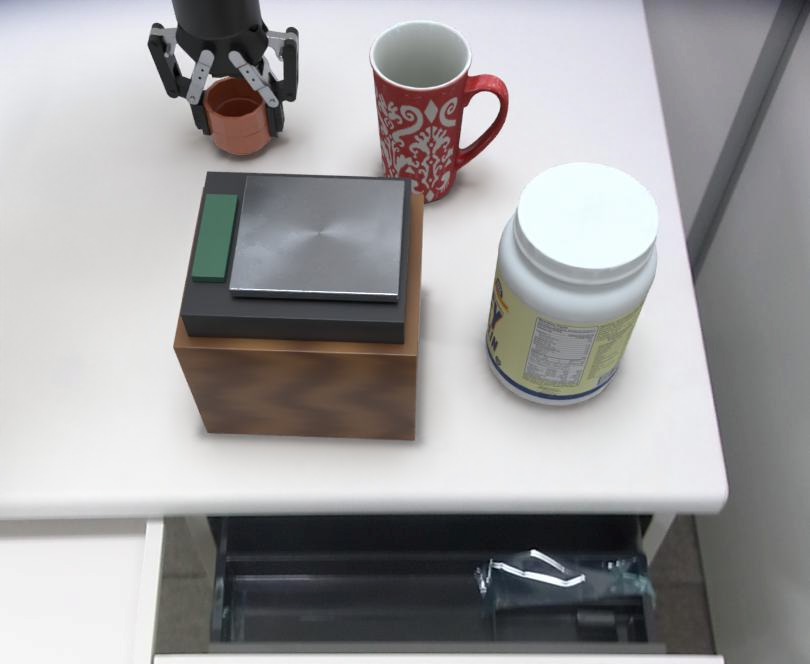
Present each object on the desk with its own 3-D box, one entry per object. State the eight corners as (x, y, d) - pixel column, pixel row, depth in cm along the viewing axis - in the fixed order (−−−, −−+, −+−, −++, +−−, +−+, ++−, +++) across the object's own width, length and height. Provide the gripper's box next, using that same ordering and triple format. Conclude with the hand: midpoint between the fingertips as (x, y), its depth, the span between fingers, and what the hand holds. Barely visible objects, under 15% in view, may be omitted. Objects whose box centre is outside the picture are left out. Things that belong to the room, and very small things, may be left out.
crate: (207, 433, 72) (172, 347, 61) (230, 287, 79) (202, 186, 68) (414, 440, 72) (417, 356, 61) (421, 294, 79) (424, 193, 68)
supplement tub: (493, 292, 79) (515, 141, 63) (623, 312, 78) (677, 163, 62) (474, 400, 74) (493, 264, 58) (612, 422, 73) (668, 290, 58)
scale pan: (230, 296, 60) (228, 289, 59) (248, 183, 64) (246, 175, 64) (398, 302, 60) (398, 295, 59) (404, 188, 64) (404, 180, 63)
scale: (188, 336, 62) (177, 309, 59) (213, 195, 68) (205, 164, 65) (404, 344, 62) (404, 316, 59) (411, 202, 67) (411, 171, 65)
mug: (364, 203, 83) (358, 79, 71) (384, 139, 87) (382, 11, 75) (488, 224, 82) (504, 103, 70) (504, 159, 86) (522, 32, 74)
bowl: (208, 156, 85) (199, 118, 81) (217, 114, 88) (208, 74, 84) (269, 159, 85) (263, 120, 81) (276, 116, 88) (270, 76, 84)
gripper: (297, -64, 72) (314, 107, 87) (130, -70, 72) (177, 103, 87) (288, -9, 69) (308, 159, 84) (114, -14, 69) (166, 154, 84)
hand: (241, 130), depth 86 cm, fingers closed on bowl, 6 cm apart
